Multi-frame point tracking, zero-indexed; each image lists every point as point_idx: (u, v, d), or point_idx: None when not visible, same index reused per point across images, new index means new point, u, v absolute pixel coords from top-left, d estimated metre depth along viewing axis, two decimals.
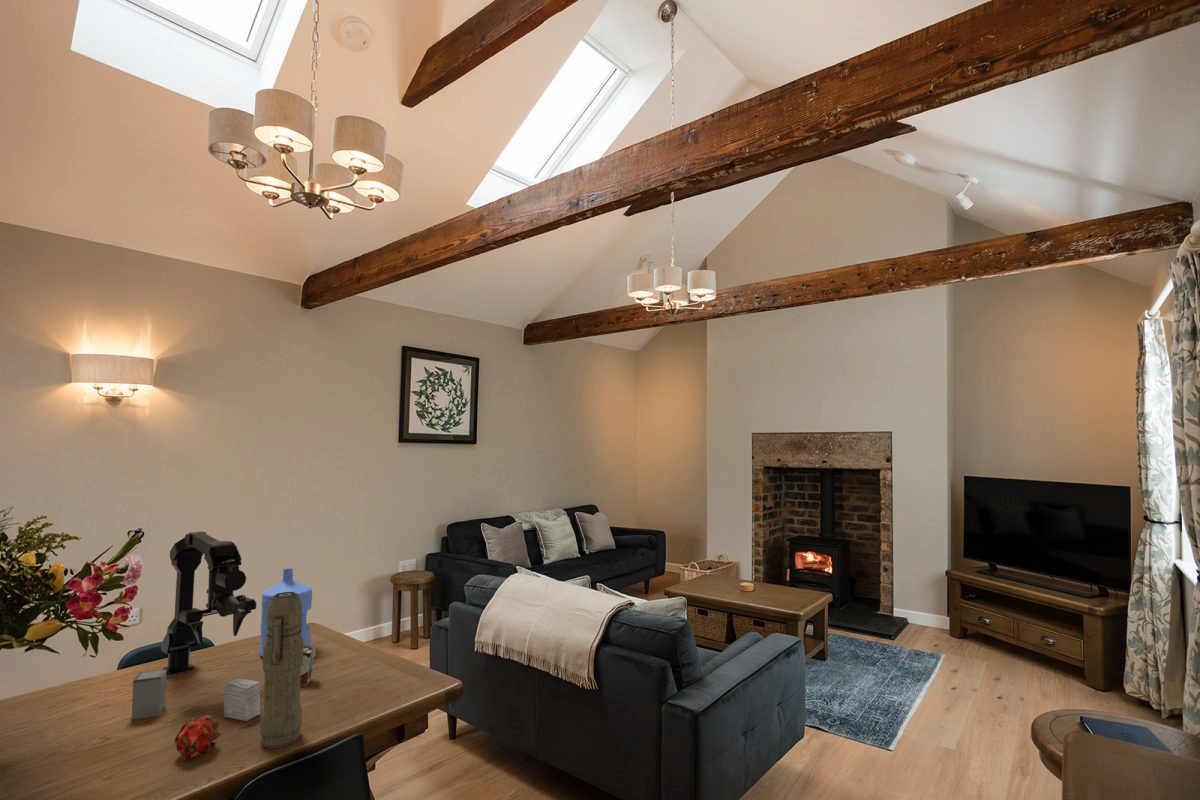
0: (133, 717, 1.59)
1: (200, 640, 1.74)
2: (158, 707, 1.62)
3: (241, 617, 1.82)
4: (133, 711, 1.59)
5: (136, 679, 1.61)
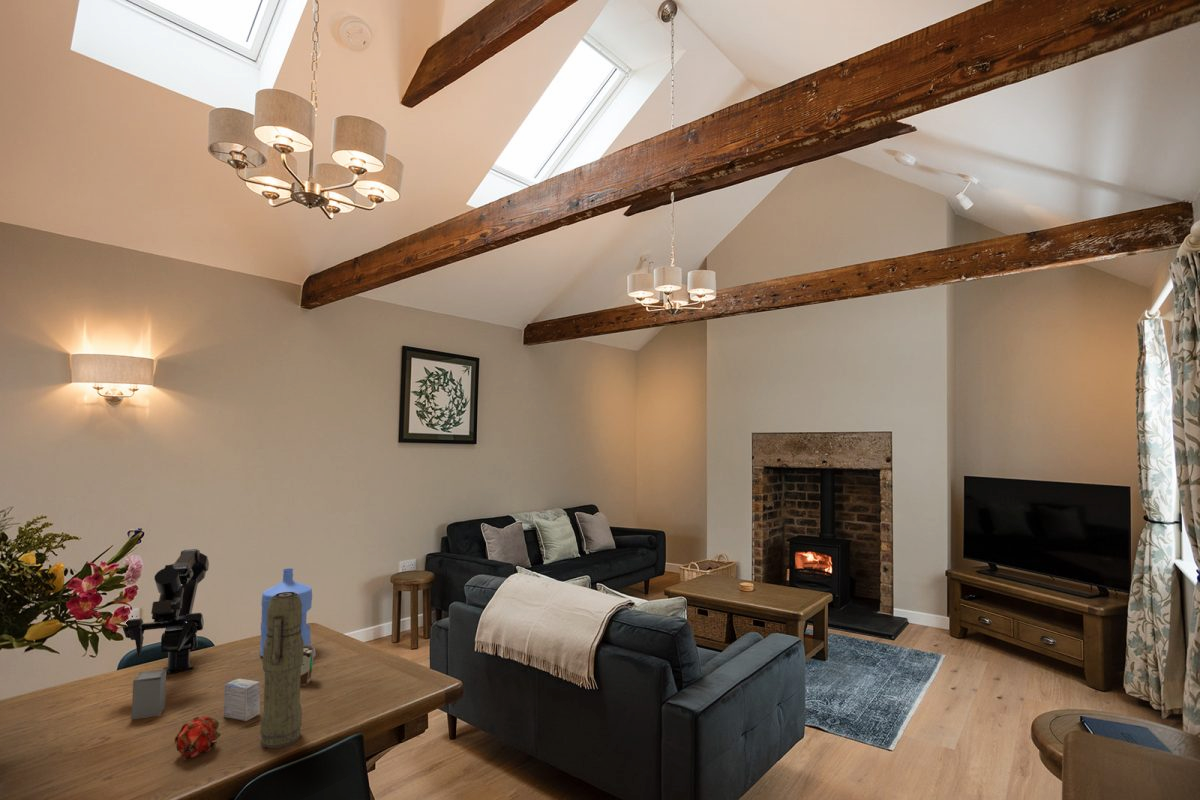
0: (133, 717, 1.59)
1: (137, 649, 1.69)
2: (158, 707, 1.62)
3: (184, 629, 1.76)
4: (133, 711, 1.59)
5: (136, 679, 1.61)
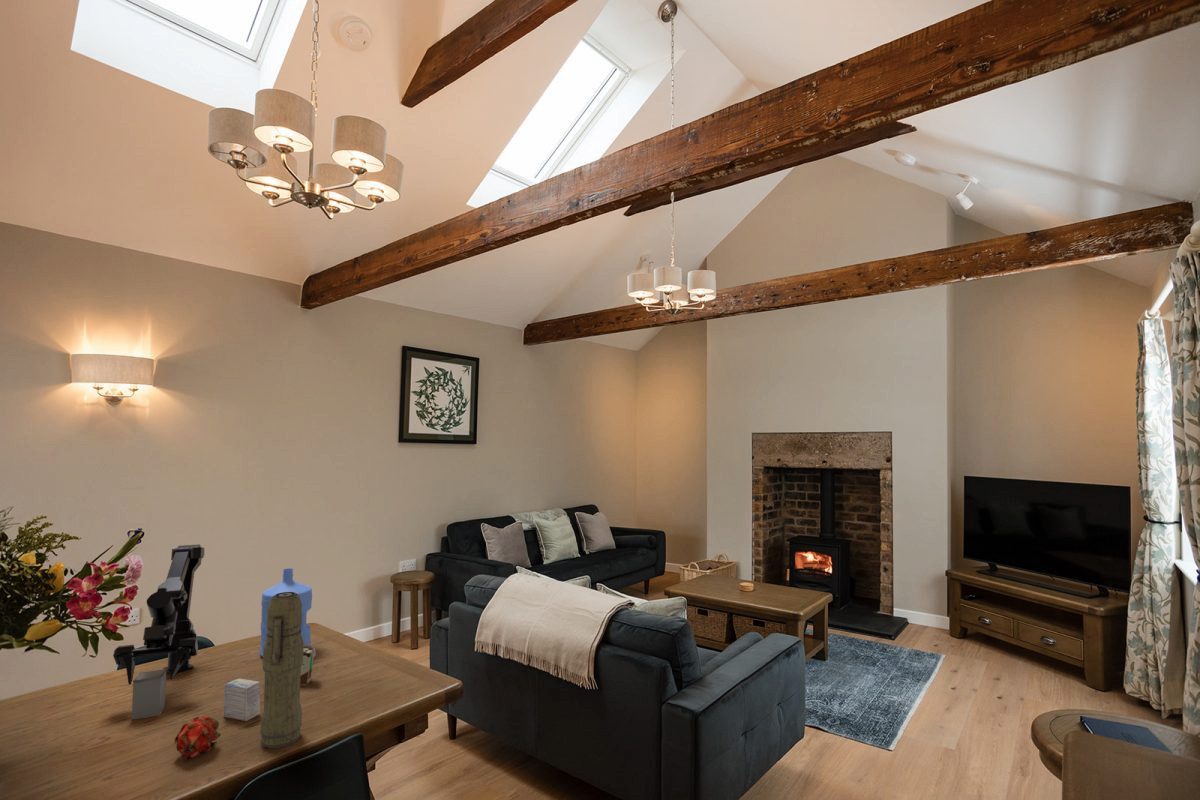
0: (133, 717, 1.59)
1: (128, 677, 1.62)
2: (158, 707, 1.62)
3: (177, 655, 1.69)
4: (133, 711, 1.59)
5: (136, 679, 1.61)
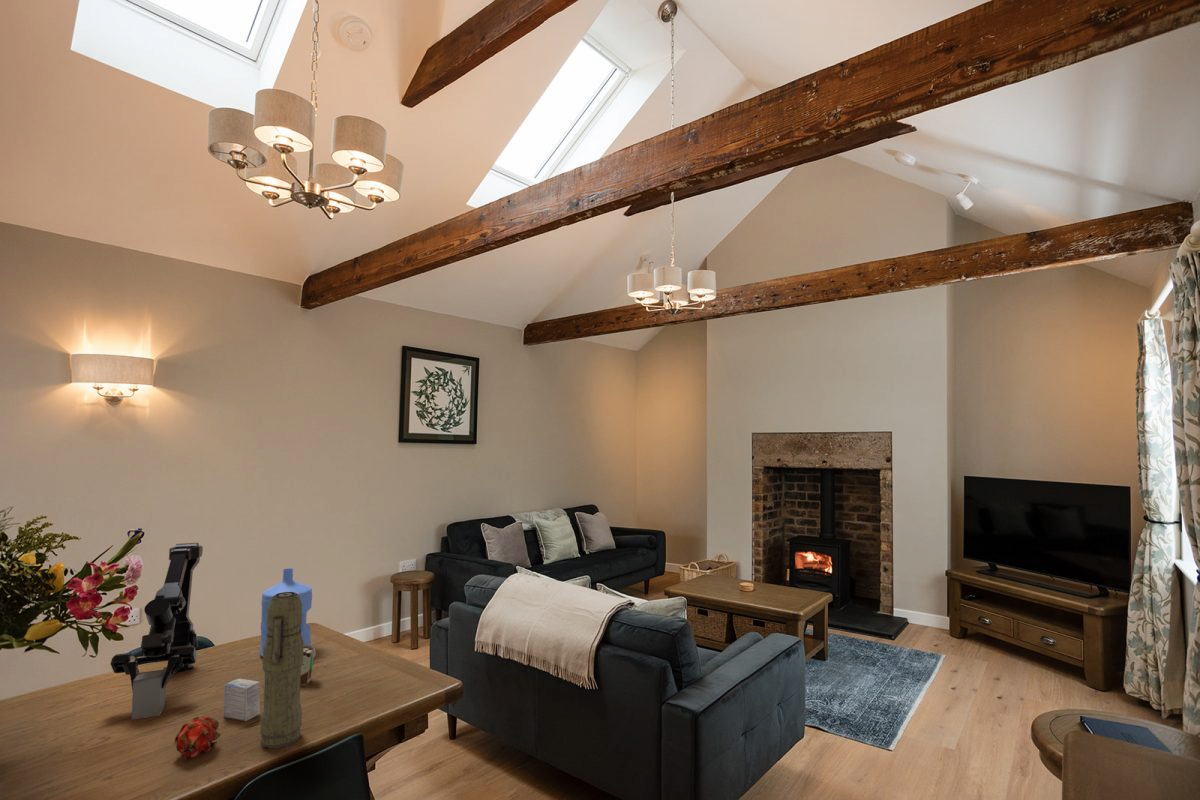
0: (133, 717, 1.59)
1: (132, 685, 1.61)
2: (158, 707, 1.62)
3: (169, 664, 1.67)
4: (133, 711, 1.59)
5: (136, 679, 1.61)
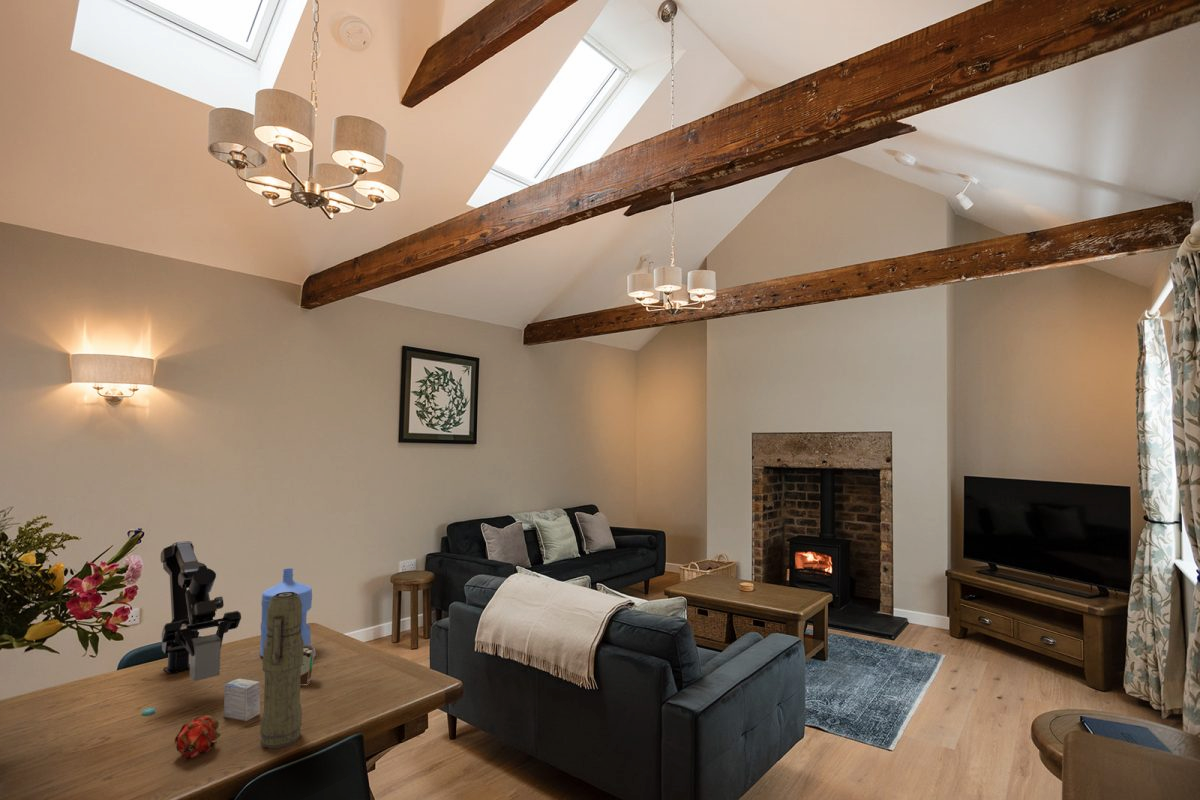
0: (196, 678, 1.68)
1: (191, 650, 1.69)
2: (218, 667, 1.72)
3: (221, 628, 1.76)
4: (196, 673, 1.68)
5: (197, 643, 1.69)
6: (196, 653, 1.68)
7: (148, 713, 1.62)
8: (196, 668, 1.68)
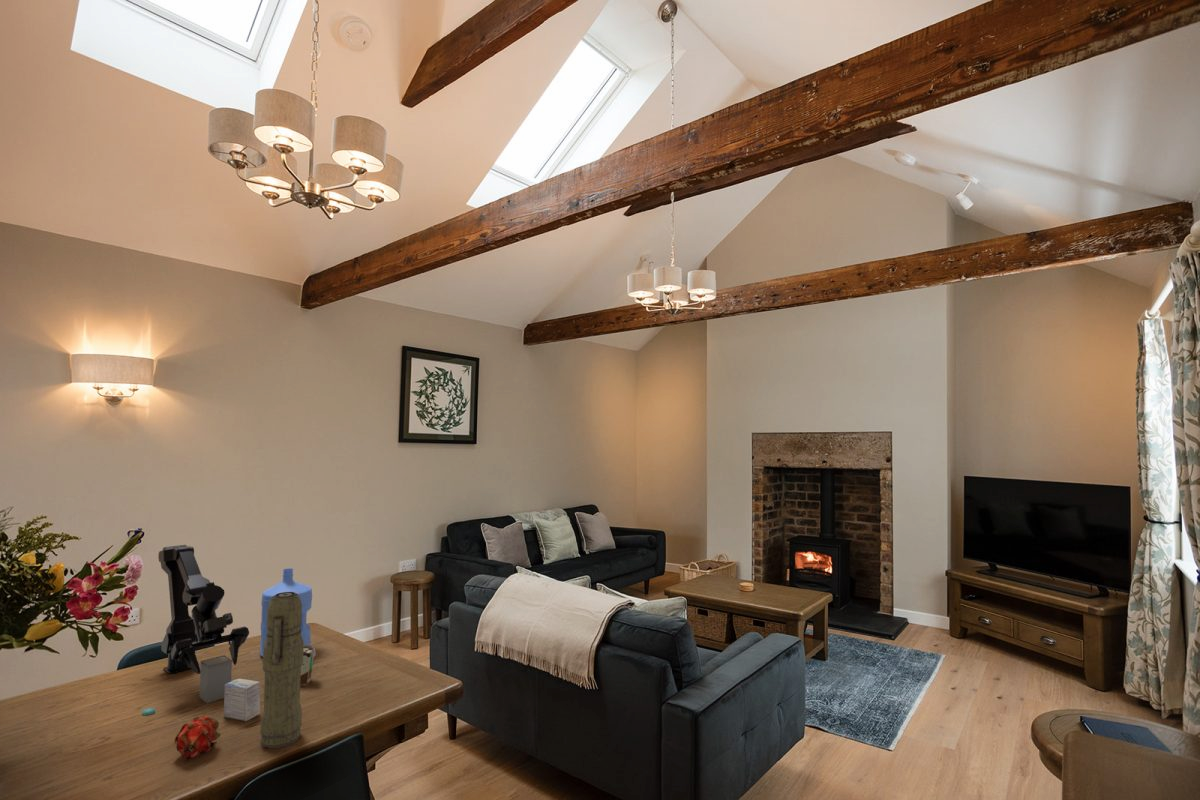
0: (208, 700, 1.70)
1: (197, 668, 1.70)
2: None
3: (236, 643, 1.79)
4: (208, 695, 1.70)
5: (209, 665, 1.71)
6: (208, 675, 1.70)
7: (148, 713, 1.62)
8: (208, 690, 1.70)
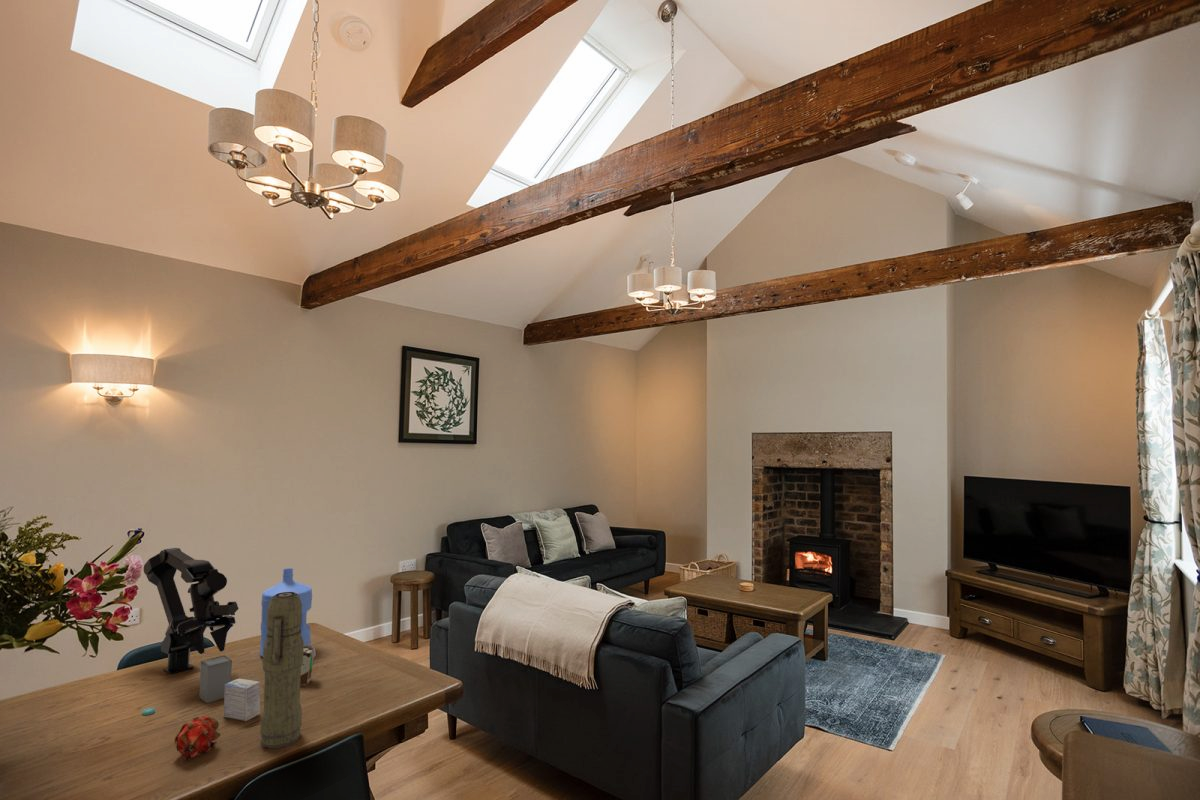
0: (208, 700, 1.70)
1: (203, 648, 1.79)
2: None
3: (226, 631, 1.90)
4: (208, 695, 1.70)
5: (209, 665, 1.71)
6: (208, 675, 1.70)
7: (148, 713, 1.62)
8: (208, 690, 1.70)
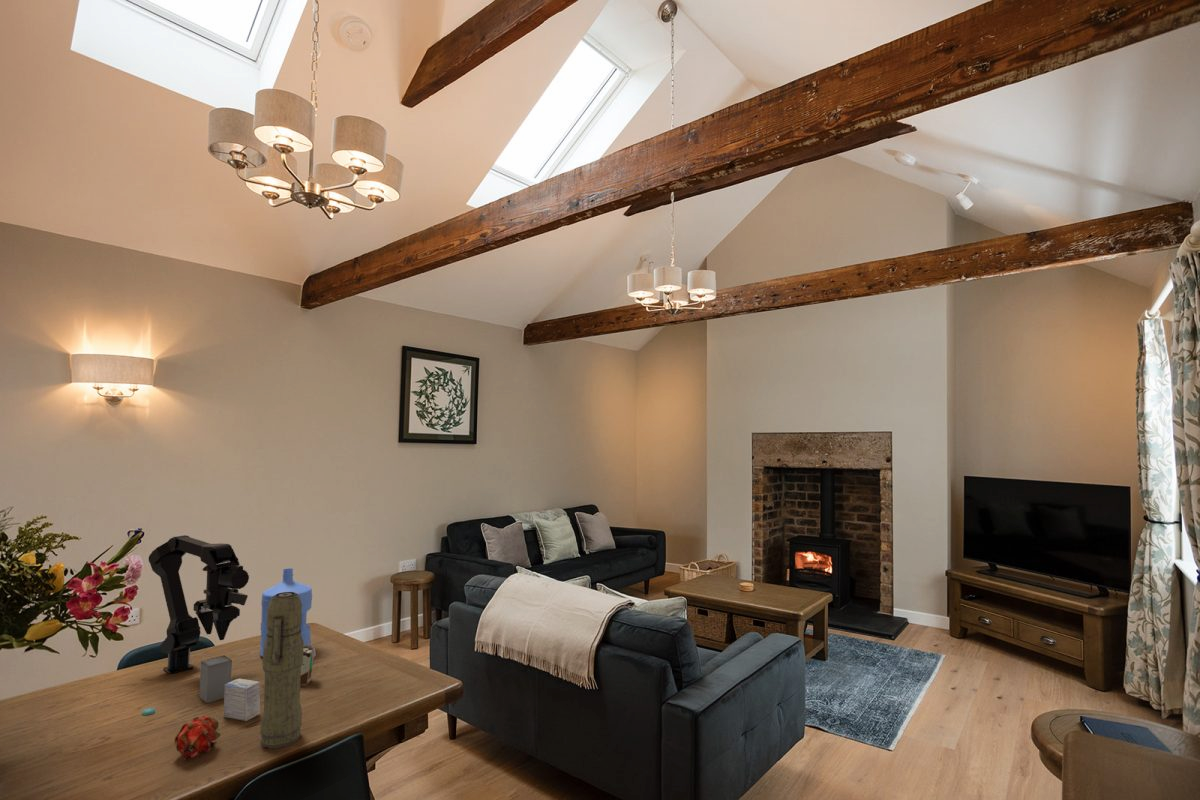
0: (208, 700, 1.70)
1: None
2: None
3: None
4: (208, 695, 1.70)
5: (209, 665, 1.71)
6: (208, 675, 1.70)
7: (148, 713, 1.62)
8: (208, 690, 1.70)
